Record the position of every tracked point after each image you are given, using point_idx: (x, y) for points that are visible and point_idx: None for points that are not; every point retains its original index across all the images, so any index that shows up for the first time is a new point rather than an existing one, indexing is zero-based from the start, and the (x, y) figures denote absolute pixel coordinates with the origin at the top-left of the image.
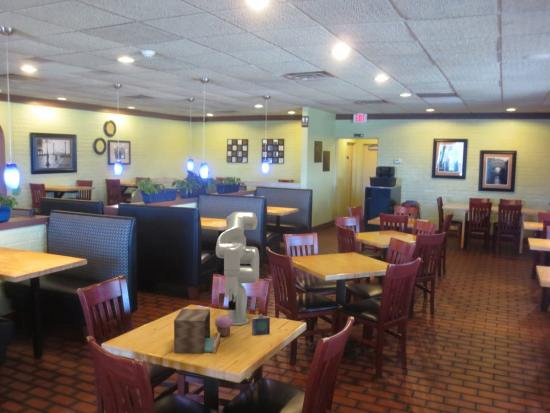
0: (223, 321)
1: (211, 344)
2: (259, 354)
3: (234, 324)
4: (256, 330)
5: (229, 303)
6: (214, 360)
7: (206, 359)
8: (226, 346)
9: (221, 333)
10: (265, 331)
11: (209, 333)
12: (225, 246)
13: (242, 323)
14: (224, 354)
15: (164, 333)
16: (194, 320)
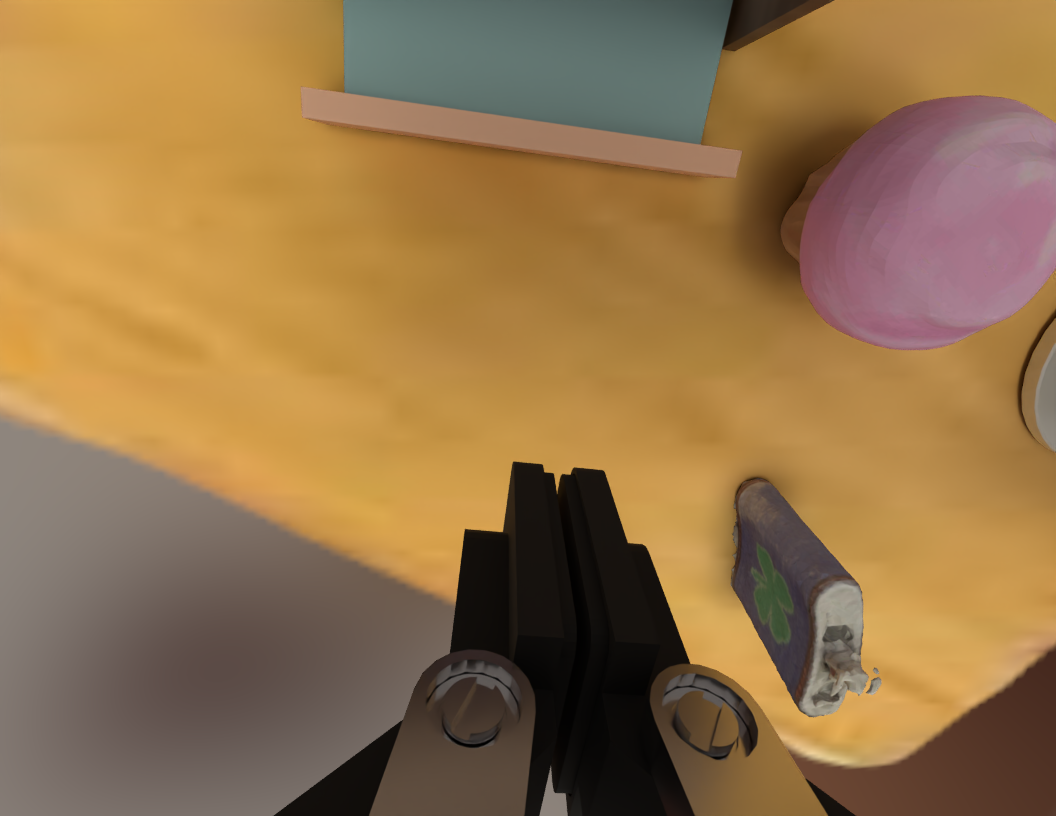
0: (863, 234)
1: (511, 70)
2: (336, 519)
3: (1053, 331)
4: (754, 534)
5: (509, 608)
6: (148, 123)
7: (158, 21)
8: (515, 249)
9: (806, 193)
10: (745, 586)
11: (757, 21)
12: None
13: (1032, 409)
14: (314, 231)
15: None
16: None
